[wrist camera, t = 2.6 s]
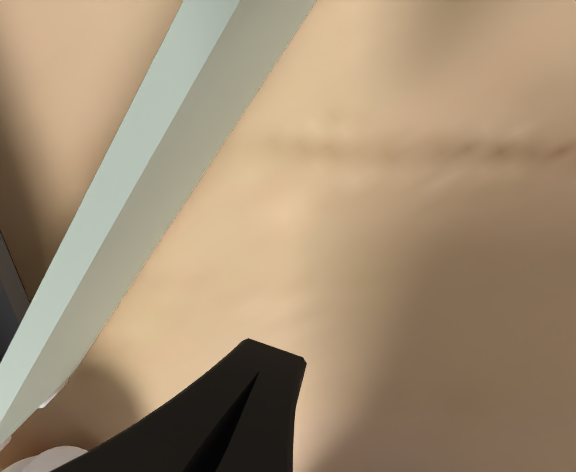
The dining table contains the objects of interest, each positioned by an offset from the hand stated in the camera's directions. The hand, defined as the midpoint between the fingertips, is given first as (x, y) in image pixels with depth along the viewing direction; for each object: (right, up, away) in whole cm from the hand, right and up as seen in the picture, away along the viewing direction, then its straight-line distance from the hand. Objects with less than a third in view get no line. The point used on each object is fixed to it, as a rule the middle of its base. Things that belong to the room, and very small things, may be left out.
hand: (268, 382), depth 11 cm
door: (-4, +3, +6) cm, 8 cm away
